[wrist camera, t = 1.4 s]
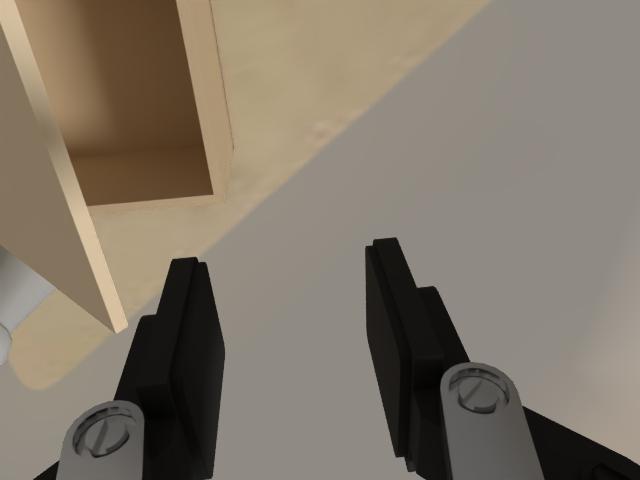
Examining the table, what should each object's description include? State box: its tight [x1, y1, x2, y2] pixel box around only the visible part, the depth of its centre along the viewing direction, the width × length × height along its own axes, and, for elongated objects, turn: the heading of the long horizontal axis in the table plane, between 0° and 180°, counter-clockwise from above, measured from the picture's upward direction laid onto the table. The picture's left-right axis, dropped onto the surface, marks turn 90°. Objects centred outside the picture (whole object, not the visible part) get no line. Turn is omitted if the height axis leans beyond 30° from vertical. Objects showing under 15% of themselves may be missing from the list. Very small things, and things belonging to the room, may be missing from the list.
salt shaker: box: [0, 245, 56, 365], centre depth 36 cm, size 6×6×13 cm
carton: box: [14, 0, 234, 215], centre depth 31 cm, size 14×13×9 cm
